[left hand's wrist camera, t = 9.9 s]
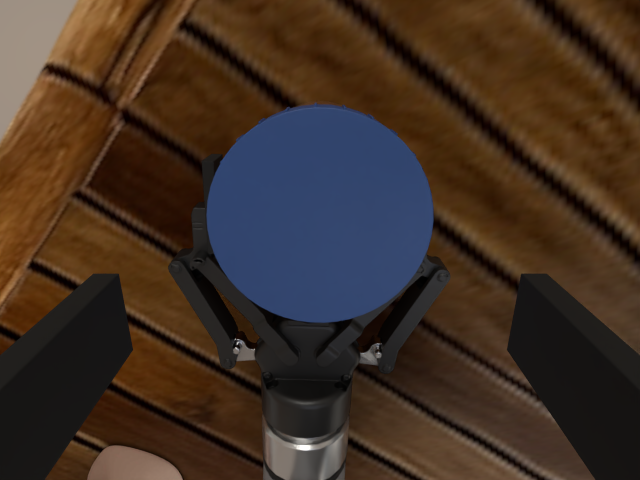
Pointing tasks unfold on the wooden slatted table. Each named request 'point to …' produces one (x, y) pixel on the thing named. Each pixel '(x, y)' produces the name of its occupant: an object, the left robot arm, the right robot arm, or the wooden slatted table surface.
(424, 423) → the wooden slatted table surface
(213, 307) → the right robot arm
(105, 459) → the anatomical model
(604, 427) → the left robot arm
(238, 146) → the lid
